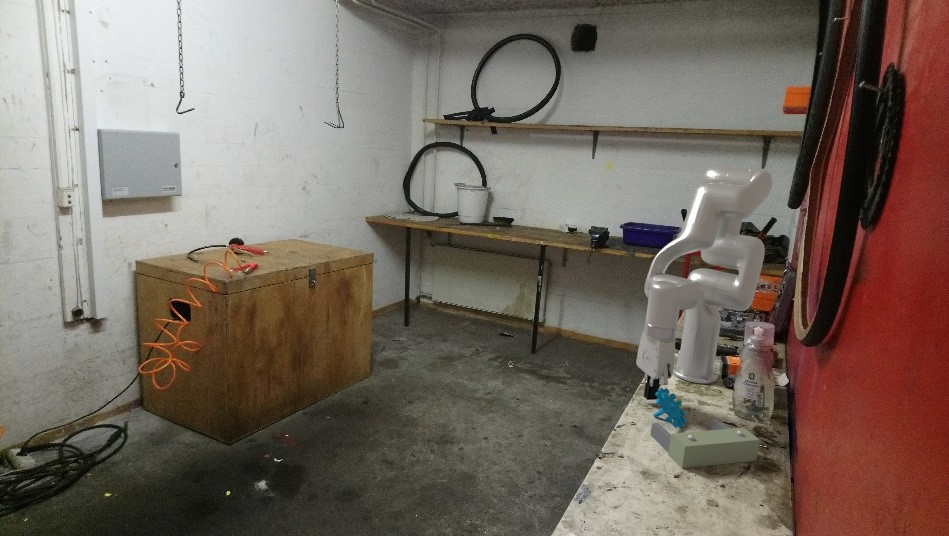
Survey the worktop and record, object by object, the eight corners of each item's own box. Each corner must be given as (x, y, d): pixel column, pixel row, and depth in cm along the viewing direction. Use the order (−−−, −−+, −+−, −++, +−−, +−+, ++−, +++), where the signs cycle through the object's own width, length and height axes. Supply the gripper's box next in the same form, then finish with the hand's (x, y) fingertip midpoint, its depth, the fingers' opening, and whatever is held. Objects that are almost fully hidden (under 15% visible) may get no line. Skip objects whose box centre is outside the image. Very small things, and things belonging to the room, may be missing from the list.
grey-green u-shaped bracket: (648, 435, 126) (651, 412, 124) (716, 429, 130) (720, 407, 129) (681, 468, 113) (685, 443, 112) (755, 460, 118) (760, 437, 116)
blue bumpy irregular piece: (676, 429, 125) (653, 389, 129) (655, 439, 129) (634, 400, 133) (696, 420, 133) (674, 383, 137) (676, 430, 137) (655, 393, 141)
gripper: (631, 321, 143) (623, 386, 147) (663, 342, 129) (653, 413, 133) (657, 320, 145) (648, 384, 149) (691, 341, 131) (680, 411, 135)
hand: (650, 398), depth 141 cm, fingers closed
